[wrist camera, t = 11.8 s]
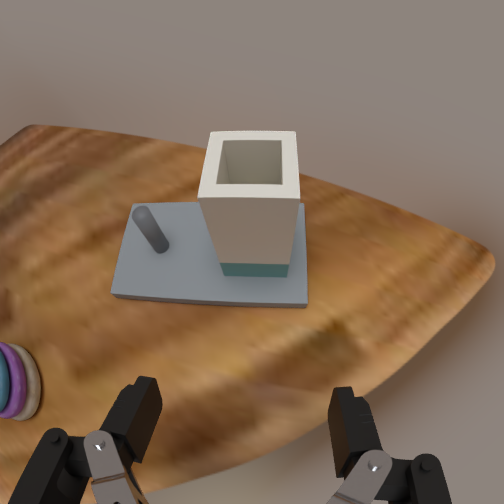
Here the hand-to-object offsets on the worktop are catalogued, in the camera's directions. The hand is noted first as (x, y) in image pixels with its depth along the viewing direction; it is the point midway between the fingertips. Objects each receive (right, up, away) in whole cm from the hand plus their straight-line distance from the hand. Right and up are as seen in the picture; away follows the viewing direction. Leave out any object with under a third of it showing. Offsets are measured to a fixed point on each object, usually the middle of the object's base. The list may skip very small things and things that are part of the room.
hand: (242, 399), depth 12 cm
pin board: (-3, +6, +13) cm, 15 cm away
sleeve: (+1, +7, +12) cm, 13 cm away
